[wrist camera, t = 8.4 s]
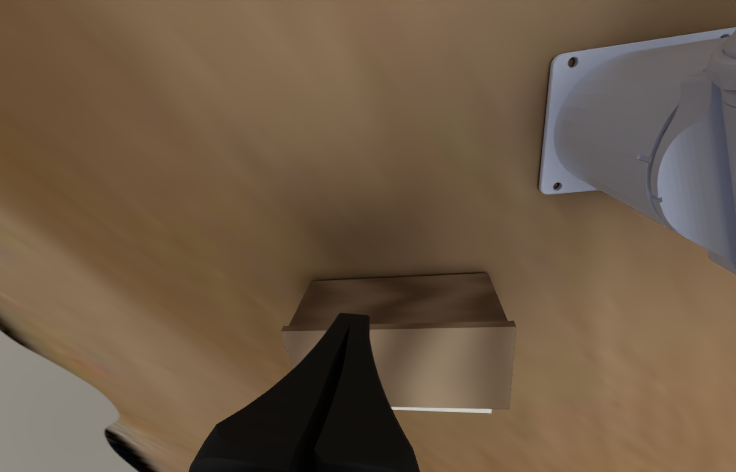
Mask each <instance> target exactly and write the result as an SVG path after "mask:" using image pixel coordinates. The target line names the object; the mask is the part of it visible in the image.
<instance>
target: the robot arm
mask: <svg viewBox="0 0 736 472" xmlns="http://www.w3.org/2000/svg"><path fill="white" fill-rule="evenodd" d="M721 36H723V38H720V37H721ZM572 57H573V58H574V59H575V64H574V65H573V66H572V67H571V68H570V67H569V66H568V61H569V59H570V58H572ZM558 182H559V187H557V188H555V189H553V186H554V184H555V183H558ZM539 190H540V191H541V192H542V193H544V194H560V193H572V192H584V191H596V190H600V191H602V192H604V193H605V194H607V195H609V196H611V197H613V198H615V199H616V200H618V201H620V202H622V203H624V204H625V205H627V206H629V207H631V208H633V209H634V210H636V211H638V212H640V213H642V214H644V215H645V216H647V217H649V218H651V219H653V220H654V221H656V222H658V223H660V224H662V225H663V226H665V227H667V228H669V229H671V230H672V231H674V232H676V233H679V234H680V235H682V236H683V237H685V238H687V239H689V240H691V241H692V242H694V243H696V244H698V245H700V246H702V247H704V248H705V249H706V251H707V252H708V255H709V258H710V260H712V261H713V262H715V263H717V264H719V265H720V266H722V267H724V268H725V269H727V270H729V271H731V272H732V273H734V274H736V27H734V28H727V29H720V30H714V31H707V32H701V33H694V34H688V35H681V36H674V37H668V38H661V39H655V40H648V41H642V42H635V43H629V44H622V45H615V46H609V47H602V48H596V49H589V50H583V51H576V52H569V53H563V54H560V55H557V56H556V57H555V58H554V59H553V61H552V63H551V67H550V77H549V88H548V98H547V108H546V118H545V128H544V138H543V148H542V159H541V169H540V179H539ZM189 472H420V470H419V467H418V464H417V460H416V457H415V454H414V451H413V448H412V446H411V444H410V443H409V441H408V439H407V438H406V436H405V434H404V432H403V430H402V429H401V427H400V425H399V423H398V421H397V419H396V417H395V415H394V413H393V410H392V408H391V406H390V404H389V402H388V399H387V397H386V394H385V392H384V389H383V387H382V384H381V381H380V378H379V375H378V372H377V368H376V365H375V361H374V357H373V353H372V348H371V342H370V317H369V316H368V315H361V314H350V313H340V314H338V316H337V317H336V319H335V320H334V322H333V323H332V325H331V326H330V327H329V329H328V330H327V331H326V333H325V334H324V335H323V337H322V338H321V339H320V340H319V341H318V343H317V344H316V345H315V346H314V348H313V349H312V350H311V351H310V352H309V353H308V354H307V355H306V356H305V357H304V359H303V360H302V361H301V362H300V363H299V364H298V365H297V366H296V367H295V368H294V369H293V370H292V371H290V372H289V373H288V374H287V375H286V376H285V377H284V378H283V379H281V380H280V381H279V382H278V383H277V384H276V385H274V386H273V387H272V388H271V389H269V390H268V391H267V392H266V393H264V394H263V395H261V396H260V397H259V398H257V399H256V400H254V401H253V402H252V403H250V404H249V405H247V406H246V407H244V408H243V409H241V410H240V411H238V412H236V413H235V414H233V415H231V416H230V417H228V418H226V419H225V420H223V421H221V422H220V423H218V424H216V426H215V427H214V429H213V430H212V432H211V433H210V434H209V436H208V437H207V439H206V440H205V442H204V443H203V445H202V447H201V448H200V450H199V452H198V454H197V455H196V457H195V459H194V461H193V462H192V464H191V466H190V469H189Z"/></svg>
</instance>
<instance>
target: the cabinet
mask: <svg viewBox="0 0 736 472" xmlns="http://www.w3.org/2000/svg"><path fill="white" fill-rule="evenodd" d="M340 313H350V314H361V315H368V316H369V317H370V342H371V348H372V353H373V357H374V361H375V365H376V368H377V372H378V375H379V378H380V381H381V384H382V387H383V389H384V392H385V394H386V397H387V399H388V402H389V404H390V406H391V407H419V408H466V409H509V407H510V395H511V384H512V372H513V360H514V348H515V336H516V325H515V323H514V321H507V318H506V316H505V313H504V311H503V309H502V306H501V304H500V301H499V299H498V296H497V294H496V292H495V289H494V287H493V284H492V282H491V280H490V277H489V275H488V273H477V274H456V275H435V276H414V277H392V278H371V279H350V280H329V281H311V283H310V285H309V287H308V289H307V291H306V293H305V295H304V297H303V299H302V301H301V303H300V305H299V307H298V309H297V311H296V313H295V315H294V317H293V319H292V321H291V323H290V324H289V326H283V328H282V330H281V333H282V337H283V340H284V343H285V346H286V349H287V352H288V355H289V358H290V361H291V364H292V368H293V369H294V368H295V367H296V366H297V365H298V364H299V363H300V362H301V361H302V360H303V359H304V357H305V356H306V355H307V354H308V353H309V352H310V351H311V350H312V349H313V348H314V346H315V345H316V344H317V343H318V341H319V340H320V339H321V338H322V337H323V335H324V334H325V333H326V331H327V330H328V329H329V327H330V326H331V325H332V323H333V322H334V320H335V319H336V317H337V316H338V314H340Z"/></svg>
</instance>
